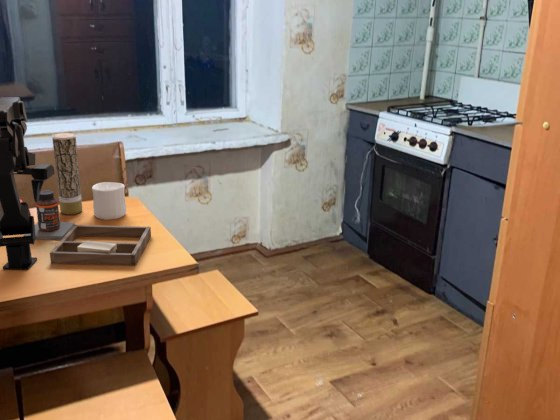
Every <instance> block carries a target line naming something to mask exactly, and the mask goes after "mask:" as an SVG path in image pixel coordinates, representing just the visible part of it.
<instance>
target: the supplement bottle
mask: <svg viewBox="0 0 560 420" xmlns="http://www.w3.org/2000/svg"><path fill="white" fill-rule="evenodd" d="M35 206H36V217H37V222H38V226H39V230H41V231H44V232H51V231H55V230H57V229H59V228H60V222H61V220H60V211H59V210H60V208H59V200H58V199H57V198H56V197H55V196H54V191H53V190H47V189H46V190H41V192H40V196H39V200H38V202H37V203H36V202H35Z"/></svg>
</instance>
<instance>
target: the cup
mask: <svg viewBox="0 0 560 420" xmlns="http://www.w3.org/2000/svg"><path fill="white" fill-rule="evenodd" d="M125 187H126V186H125V184H124V183H121V182H114V181H103V182H97V183H95V184H94V185H92V187H91V190H92V195H93V196H92V199H93V203H92V206H93V208H92V209H93V214H94V216H95V218H98V219H100V220H115V219H116V220H117V219H121V218H122V216H123V217H124V216H125V215H126V213H127V202H126V195H125Z"/></svg>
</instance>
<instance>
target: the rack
mask: <svg viewBox="0 0 560 420" xmlns="http://www.w3.org/2000/svg"><path fill="white" fill-rule="evenodd" d="M151 229H152V228H151V226H139V225H138V226H135V225H134V226H133V225H131V226H130V225H129V226H127V225H95V224H94V225H93V224H92V225H91V224H89V225H87V224H86V225H85V224H75V225H74V226H73V228H72V229H71V230H70V231H69V232H68V233H67V234H66V235H65V236H64V238H63V239H62V240H60V241H59V242H58V243H57V244H55V246H54V248H52V250H51V251H50V252H49V258H50V260H49V261H50V264H51V265H52V264H53V265H56V264H57V265H92V266H93V265H95V266H97V265H98V266H134V267H135V266H137V264H138V262H139V260H140V258H141V256H142V254H143V252H144V251H145V248H146V246H147V245H148V243H149V241H150V239H151V238H152V230H151ZM78 237H107V238H109V237H110V238H111V237H113V238H140V239H139V240H138V241H137V242H123V241H122V242H119V241H118V242H117V241H116V242H115V241H113V242H112V241H103V242H104V243H114V244H117V249H116V250H115V252H116V253H94V252H78V250H77V247H78V246H79V245H80V244H82V243H83V242H84V241H75V240H76V239H77V238H78Z"/></svg>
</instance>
